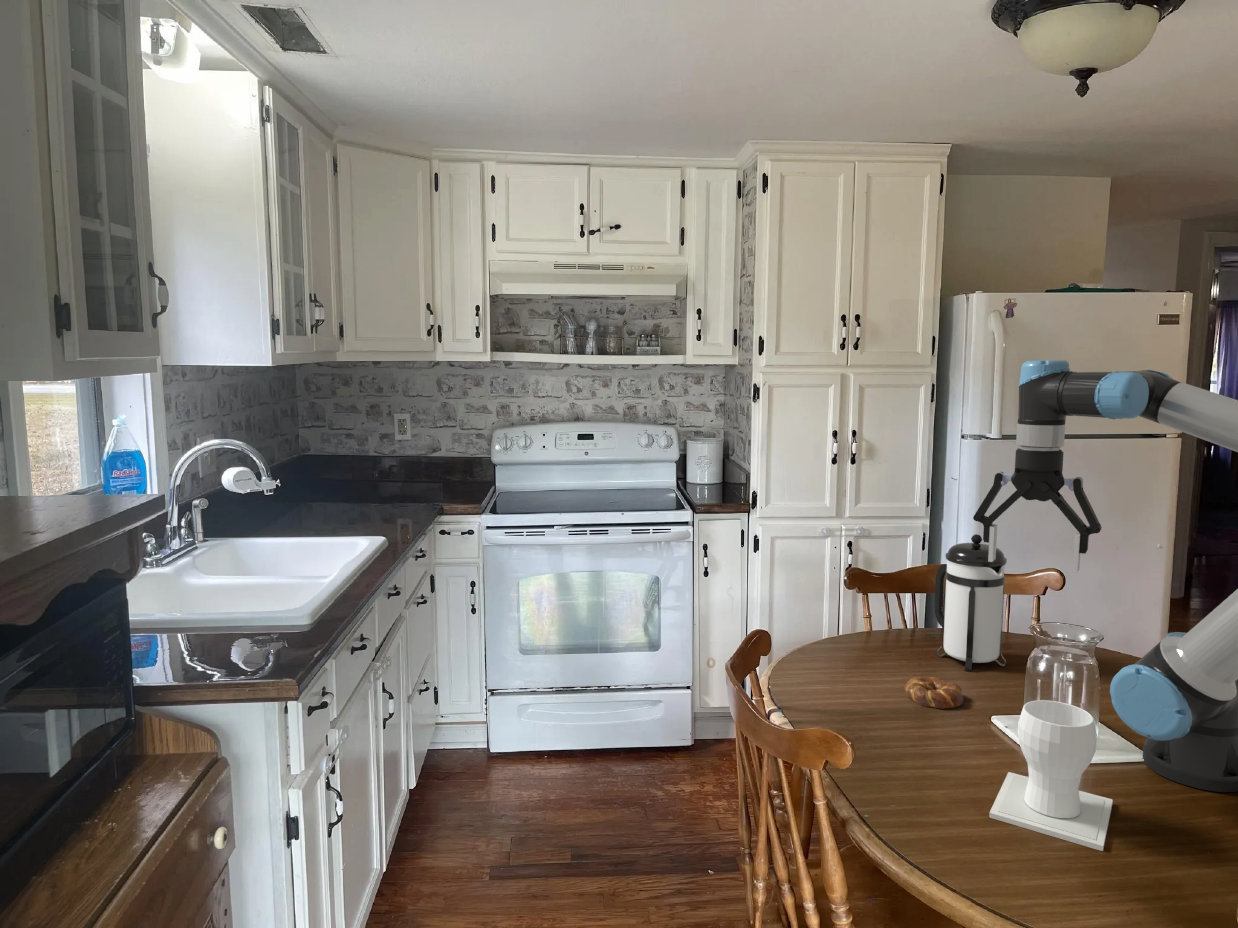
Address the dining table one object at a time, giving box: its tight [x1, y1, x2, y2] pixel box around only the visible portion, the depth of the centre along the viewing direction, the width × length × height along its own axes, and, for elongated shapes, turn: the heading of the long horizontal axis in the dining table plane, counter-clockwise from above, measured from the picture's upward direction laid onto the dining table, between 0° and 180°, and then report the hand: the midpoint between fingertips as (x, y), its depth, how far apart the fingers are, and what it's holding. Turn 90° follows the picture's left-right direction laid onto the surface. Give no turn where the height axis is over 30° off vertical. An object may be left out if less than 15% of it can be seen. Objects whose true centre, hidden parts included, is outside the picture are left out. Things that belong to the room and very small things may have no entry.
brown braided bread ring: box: [903, 675, 964, 710], centre depth 167 cm, size 12×11×4 cm
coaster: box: [988, 771, 1113, 852], centre depth 125 cm, size 15×15×1 cm
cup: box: [1017, 699, 1098, 818], centre depth 124 cm, size 11×11×15 cm
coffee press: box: [933, 533, 1008, 672], centre depth 186 cm, size 17×16×30 cm
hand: (1032, 565), depth 145 cm, fingers open, 13 cm apart
